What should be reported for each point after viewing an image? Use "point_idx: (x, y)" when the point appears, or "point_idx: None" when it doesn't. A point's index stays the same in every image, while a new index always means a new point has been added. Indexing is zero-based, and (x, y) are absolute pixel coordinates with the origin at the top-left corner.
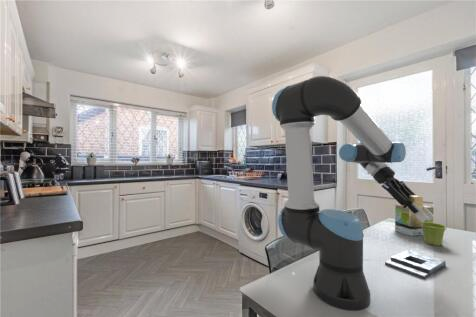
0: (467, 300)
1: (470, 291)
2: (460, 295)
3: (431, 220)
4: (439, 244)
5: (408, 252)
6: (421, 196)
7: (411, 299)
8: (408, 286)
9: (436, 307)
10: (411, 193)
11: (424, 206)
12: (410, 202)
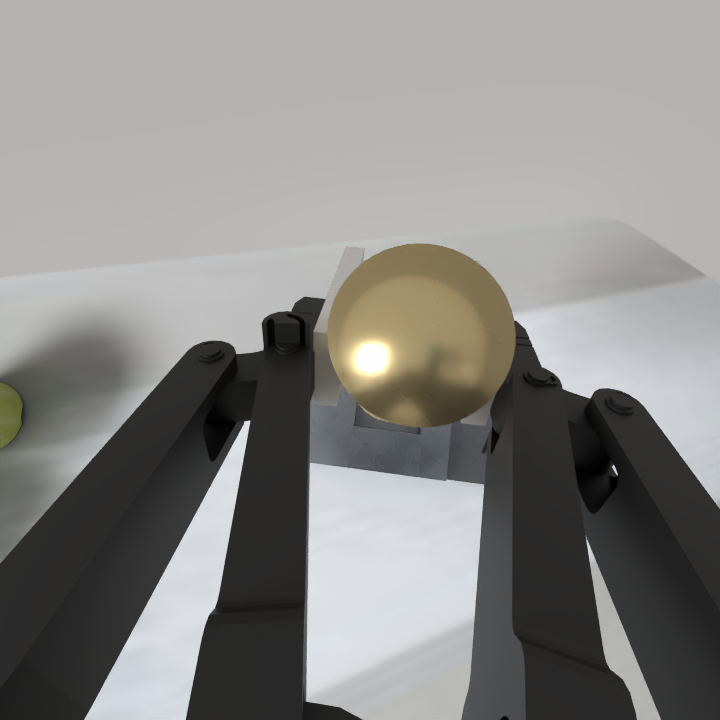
0: (546, 229)
1: (470, 231)
2: (528, 246)
3: None
4: (7, 386)
5: (314, 443)
6: (365, 269)
7: (690, 333)
8: (609, 363)
9: (671, 276)
10: (173, 459)
11: (328, 295)
12: (551, 375)
